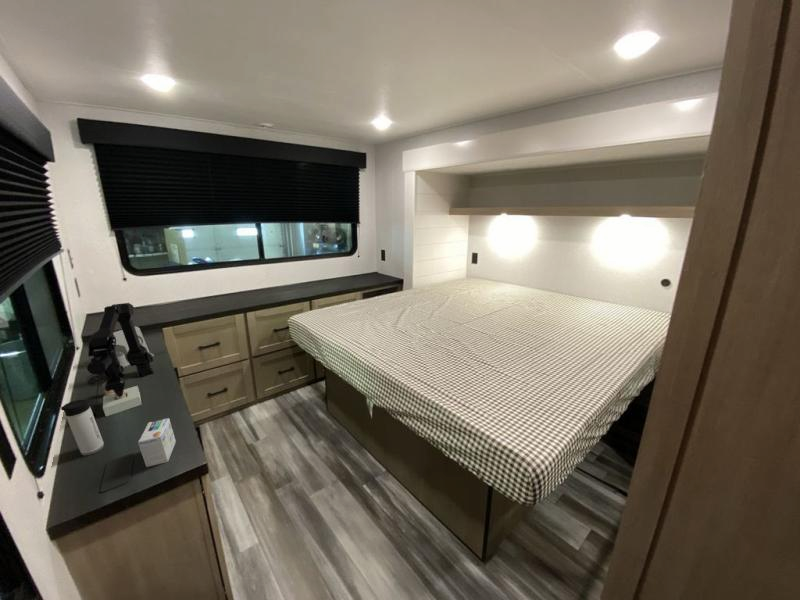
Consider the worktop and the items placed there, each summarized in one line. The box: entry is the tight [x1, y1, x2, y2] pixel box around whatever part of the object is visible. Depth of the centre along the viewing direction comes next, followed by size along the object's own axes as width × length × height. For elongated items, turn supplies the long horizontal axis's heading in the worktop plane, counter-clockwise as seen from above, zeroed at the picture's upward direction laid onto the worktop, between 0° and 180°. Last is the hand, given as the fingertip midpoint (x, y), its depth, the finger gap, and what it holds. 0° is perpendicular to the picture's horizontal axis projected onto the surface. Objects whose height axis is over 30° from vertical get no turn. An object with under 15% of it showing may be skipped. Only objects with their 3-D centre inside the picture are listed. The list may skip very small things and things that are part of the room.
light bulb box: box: [137, 417, 177, 468], centre depth 113 cm, size 11×7×11 cm, turn 21°
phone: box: [100, 453, 135, 494], centre depth 108 cm, size 7×1×15 cm
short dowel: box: [102, 381, 115, 395], centre depth 151 cm, size 3×3×6 cm
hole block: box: [102, 385, 142, 417], centre depth 143 cm, size 12×12×4 cm
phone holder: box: [113, 326, 155, 368], centre depth 181 cm, size 17×10×18 cm, turn 146°
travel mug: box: [60, 399, 105, 456], centre depth 115 cm, size 6×7×20 cm
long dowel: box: [115, 389, 126, 400], centre depth 142 cm, size 3×3×10 cm
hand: (120, 394), depth 142 cm, fingers open, 4 cm apart
